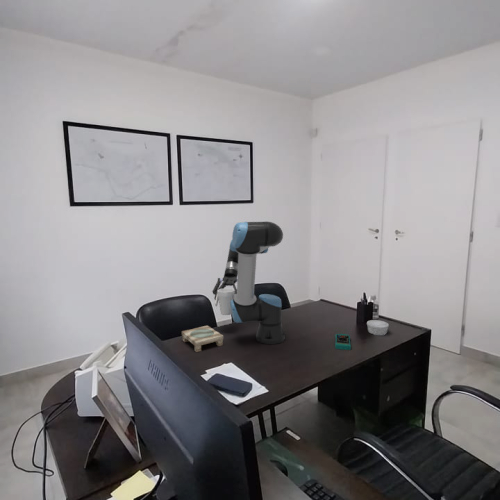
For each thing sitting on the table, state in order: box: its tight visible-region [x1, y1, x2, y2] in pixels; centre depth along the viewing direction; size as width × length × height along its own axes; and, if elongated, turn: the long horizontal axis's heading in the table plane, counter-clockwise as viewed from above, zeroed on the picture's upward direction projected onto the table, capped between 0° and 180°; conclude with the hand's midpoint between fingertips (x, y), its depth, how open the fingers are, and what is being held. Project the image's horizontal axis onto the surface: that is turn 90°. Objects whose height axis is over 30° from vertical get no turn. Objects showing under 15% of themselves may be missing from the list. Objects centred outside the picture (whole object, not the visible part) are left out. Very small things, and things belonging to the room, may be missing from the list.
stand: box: [181, 325, 224, 353], centre depth 174 cm, size 18×15×5 cm
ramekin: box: [366, 319, 390, 336], centre depth 185 cm, size 11×11×5 cm
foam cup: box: [217, 287, 236, 316], centre depth 185 cm, size 10×9×13 cm
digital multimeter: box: [334, 333, 352, 351], centre depth 171 cm, size 7×15×3 cm, turn 166°
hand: (224, 305), depth 182 cm, fingers closed on foam cup, 9 cm apart
